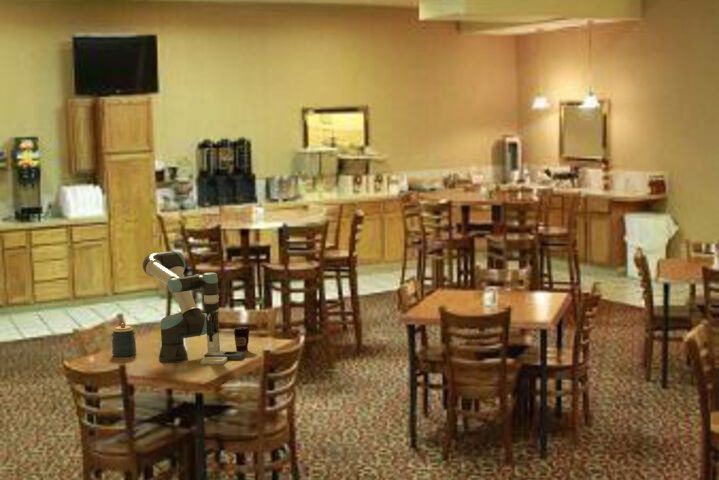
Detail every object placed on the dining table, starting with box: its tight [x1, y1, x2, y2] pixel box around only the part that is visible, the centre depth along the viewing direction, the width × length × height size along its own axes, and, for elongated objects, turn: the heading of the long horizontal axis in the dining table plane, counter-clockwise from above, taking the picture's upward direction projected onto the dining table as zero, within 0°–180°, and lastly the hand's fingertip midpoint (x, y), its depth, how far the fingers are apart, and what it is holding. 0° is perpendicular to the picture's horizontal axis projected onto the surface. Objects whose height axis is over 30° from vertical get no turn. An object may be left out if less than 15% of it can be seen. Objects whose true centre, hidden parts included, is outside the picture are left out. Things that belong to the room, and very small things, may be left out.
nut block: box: [206, 331, 221, 353], centre depth 527 cm, size 5×5×10 cm
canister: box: [110, 322, 137, 358], centre depth 550 cm, size 13×13×18 cm
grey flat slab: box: [203, 350, 246, 361], centre depth 537 cm, size 20×9×2 cm, turn 81°
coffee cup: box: [233, 326, 250, 353], centre depth 551 cm, size 9×8×13 cm
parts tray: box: [199, 357, 229, 365], centre depth 528 cm, size 12×9×2 cm
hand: (213, 346), depth 527 cm, fingers closed on nut block, 5 cm apart
